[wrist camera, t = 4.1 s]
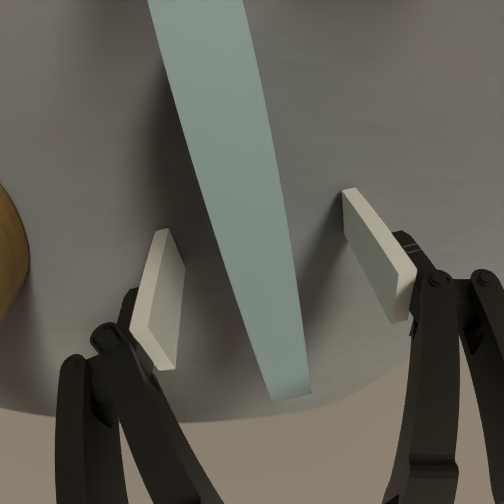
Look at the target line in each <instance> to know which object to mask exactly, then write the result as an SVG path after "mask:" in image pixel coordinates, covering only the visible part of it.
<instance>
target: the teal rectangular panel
mask: <svg viewBox="0 0 504 504" xmlns="http://www.w3.org/2000/svg"><path fill="white" fill-rule="evenodd" d="M147 1H148V5H149V9H150V12H151V16H152V20H153V24H154V28H155V32H156V35H157V39H158V43H159V47H160V50H161V54H162V58H163V61H164V65H165V69H166V72H167V76H168V80H169V83H170V87H171V90H172V94H173V97H174V101H175V104H176V108H177V111H178V115H179V118H180V122H181V125H182V129H183V132H184V135H185V139H186V142H187V146H188V149H189V152H190V156H191V159H192V162H193V166H194V169H195V172H196V175H197V179H198V182H199V185H200V188H201V192H202V195H203V198H204V201H205V205H206V208H207V211H208V214H209V217H210V220H211V224H212V227H213V230H214V233H215V236H216V239H217V242H218V246H219V249H220V252H221V255H222V258H223V261H224V264H225V267H226V270H227V273H228V276H229V279H230V282H231V285H232V288H233V291H234V294H235V297H236V300H237V303H238V306H239V309H240V312H241V315H242V318H243V321H244V324H245V327H246V330H247V333H248V335H249V338H250V341H251V344H252V347H253V350H254V353H255V356H256V358H257V361H258V364H259V367H260V370H261V373H262V375H263V378H264V381H265V384H266V387H267V389H268V392H269V395H270V398H271V401H277V400H282V399H287V398H292V397H297V396H302V395H307V394H311V387H310V378H309V370H308V362H307V354H306V346H305V339H304V331H303V324H302V317H301V309H300V302H299V295H298V289H297V282H296V275H295V269H294V262H293V256H292V249H291V243H290V237H289V231H288V225H287V218H286V213H285V207H284V201H283V195H282V189H281V184H280V178H279V173H278V167H277V162H276V156H275V151H274V146H273V140H272V135H271V130H270V125H269V120H268V115H267V110H266V105H265V100H264V95H263V90H262V85H261V80H260V76H259V71H258V66H257V62H256V57H255V53H254V48H253V44H252V39H251V35H250V31H249V26H248V22H247V18H246V13H245V9H244V5H243V1H242V0H147Z"/></svg>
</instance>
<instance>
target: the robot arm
mask: <svg viewBox="0 0 504 504" xmlns="http://www.w3.org/2000/svg"><path fill="white" fill-rule="evenodd" d="M342 202H343V220H344V235H345V237H346V239H347V241H348V242H349V244H350V246H351V248H352V250H353V251H354V253H355V255H356V257H357V259H358V261H359V263H360V264H361V266H362V268H363V270H364V272H365V274H366V276H367V278H368V280H369V281H370V283H371V285H372V287H373V289H374V291H375V293H376V295H377V297H378V299H379V301H380V303H381V305H382V307H383V309H384V311H385V313H386V315H387V317H388V319H389V321H390V324H395V323H398V322H401V321H405V320H407V319H408V315H409V310H410V312H411V314H412V316H413V317H414V319H413V323H412V327H411V331H410V335H409V336H411V351H410V363H409V373H408V382H407V391H406V399H405V406H404V413H403V419H402V425H401V431H400V436H399V442H398V447H397V453H396V457H395V461H394V466H393V470H392V475H391V478H390V481H389V483H388V486H387V488H386V491H385V494H384V498H383V501H382V504H454V500H455V495H456V489H457V483H458V475H459V470H458V466H457V464H456V463H455V450H456V441H457V430H458V417H459V395H460V355H459V336H460V339H461V342H462V346H463V349H464V352H465V356H466V359H467V363H468V366H469V370H470V373H471V378H472V381H473V385H474V389H475V394H476V398H477V402H478V407H479V412H480V416H481V421H482V427H483V432H484V438H485V444H486V450H487V457H488V465H489V474H490V481H491V489H492V493H493V497H494V501H495V504H504V289H503V287H502V285H501V283H500V281H499V279H498V278H497V276H496V275H495V274H494V273H492V272H491V271H488V270H485V269H478V270H475V271H474V272H473V273H472V275H471V278H470V279H452V277H451V276H450V275H449V274H448V273H446V272H444V271H442V270H437V269H436V268H435V267H434V265H433V264H432V263H431V261H430V260H429V259H428V257H427V256H426V255H425V253H424V252H423V251H422V250H421V248H420V247H419V246H418V244H416V242H415V241H414V239H413V238H412V237H411V236H410V235H409V234H407V233H405V232H404V231H402V230H401V231H397V232H392V233H391V232H390V231H389V229H388V228H387V227H386V225H385V224H384V223H383V221H382V220H381V219H380V218H379V216H378V215H377V214H376V212H375V211H374V210H373V209H372V207H371V206H370V205H369V204H368V202H367V201H366V200H365V199H364V197H363V196H362V195H361V194H360V192H359V191H358V190H357V189H356V188H351V189H346V190H342ZM185 269H186V268H185V266H184V264H183V261H182V259H181V256H180V254H179V251H178V249H177V247H176V244H175V242H174V239H173V237H172V234H171V232H170V229H169V228H166V229H162V230H158V231H155V234H154V237H153V241H152V244H151V247H150V251H149V254H148V258H147V261H146V265H145V268H144V272H143V276H142V279H141V283H140V287H138V288H133V289H130V290H129V291H128V293H127V294H126V295H125V297H124V299H123V303H122V308H121V310H120V315H119V317H118V321H117V324H115V323H113V322H107V323H104V324H101V325H100V326H99V327H97V328H96V329H95V330H94V331H93V333H92V335H91V337H90V343H91V345H92V346H93V347H94V348H95V350H96V351H97V352H98V353H99V354H98V355H96V356H94V357H91V358H89V359H87V360H86V359H85V358H84V357H83V356H82V355H80V354H73V355H71V356H69V357H68V358H67V359H66V360H65V361H64V362H63V364H62V365H61V369H60V376H59V385H58V396H57V409H56V427H55V483H56V484H55V485H56V502H57V504H128V498H127V491H126V485H125V478H124V471H123V462H122V454H121V446H120V445H121V444H120V434H119V421H118V417H119V420H120V423H121V426H122V428H123V431H124V434H125V437H126V439H127V442H128V445H129V447H130V450H131V453H132V455H133V458H134V460H135V463H136V465H137V467H138V470H139V472H140V474H141V477H142V479H143V482H144V484H145V486H146V488H147V491H148V493H149V495H150V497H151V499H152V501H153V503H154V504H224V503H223V501H222V499H221V498H220V496H219V495H218V493H217V491H216V490H215V488H214V487H213V485H212V483H211V482H210V480H209V478H208V477H207V475H206V473H205V472H204V470H203V468H202V466H201V465H200V463H199V461H198V460H197V458H196V456H195V455H194V452H193V451H192V449H191V447H190V445H189V443H188V441H187V439H186V438H185V436H184V434H183V432H182V430H181V428H180V426H179V424H178V422H177V420H176V418H175V416H174V414H173V412H172V410H171V408H170V406H169V404H168V402H167V400H166V398H165V396H164V393H163V391H162V389H161V387H160V385H159V383H158V380H157V378H156V376H155V375H154V374H153V373H152V370H153V364H154V365H155V366H156V368H157V369H158V370H159V371H162V370H171V369H176V357H177V345H178V334H179V324H180V314H181V304H182V295H183V286H184V278H185Z"/></svg>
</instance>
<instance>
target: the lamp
mask: <svg viewBox="0 0 504 504" xmlns="http://www.w3.org/2000/svg"><path fill="white" fill-rule="evenodd" d="M28 267H29V249H28V243H27V238H26V234H25V230H24V227H23V225H22V222H21V219H20V217H19V214H18V212H17V210H16V208H15V206H14V204H13V203H12V201H11V199H10V197H9V196H8V194H7V193H6V191H5V190H4V188H3V187H2V186H1V184H0V326H1V324H2V322H3V320H4V318H5V316H6V314H7V312H8V310H9V309H10V307H11V305H12V303H13V301H14V299H15V298H16V296H17V294H18V292H19V290H20V289H21V287H22V285H23V283H24V281H25V279H26V276H27V273H28Z"/></svg>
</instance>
